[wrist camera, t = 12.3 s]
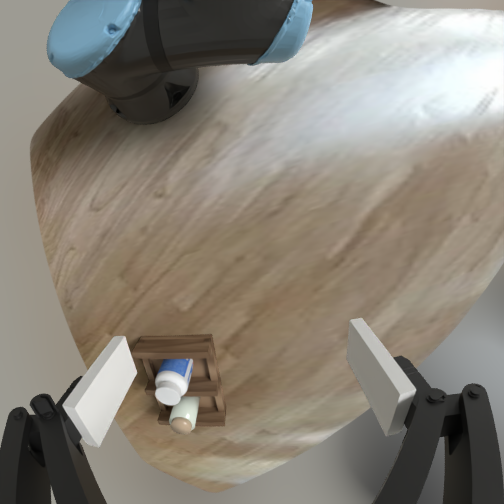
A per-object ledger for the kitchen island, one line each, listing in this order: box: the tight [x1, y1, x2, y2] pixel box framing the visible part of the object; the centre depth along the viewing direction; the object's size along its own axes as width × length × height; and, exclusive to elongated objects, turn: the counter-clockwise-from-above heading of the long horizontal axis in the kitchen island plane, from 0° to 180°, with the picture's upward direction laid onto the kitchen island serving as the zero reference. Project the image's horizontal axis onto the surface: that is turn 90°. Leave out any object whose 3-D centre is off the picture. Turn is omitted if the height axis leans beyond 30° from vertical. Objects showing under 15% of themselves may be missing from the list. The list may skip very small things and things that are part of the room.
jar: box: [169, 396, 201, 434], centre depth 44 cm, size 5×5×9 cm
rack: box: [131, 334, 226, 426], centre depth 46 cm, size 18×13×6 cm
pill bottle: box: [155, 359, 193, 405], centre depth 42 cm, size 6×5×10 cm
